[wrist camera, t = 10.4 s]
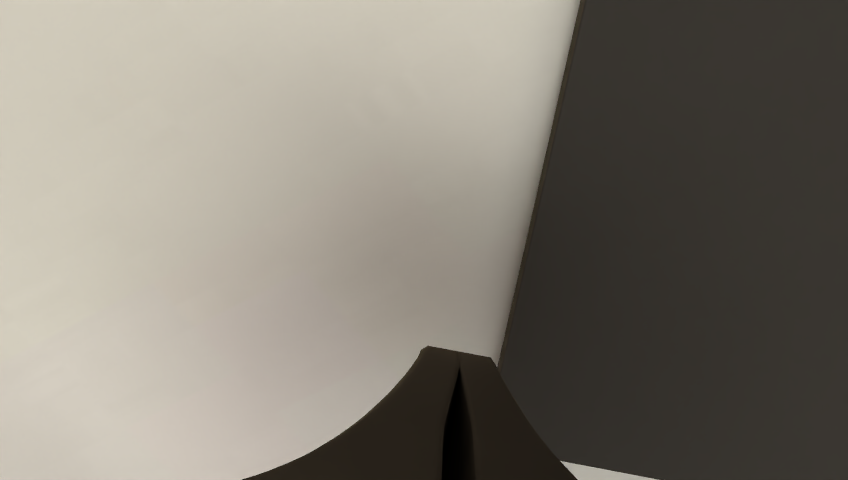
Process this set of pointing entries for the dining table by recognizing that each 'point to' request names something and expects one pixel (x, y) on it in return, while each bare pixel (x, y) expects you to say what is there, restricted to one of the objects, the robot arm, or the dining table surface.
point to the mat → (692, 245)
